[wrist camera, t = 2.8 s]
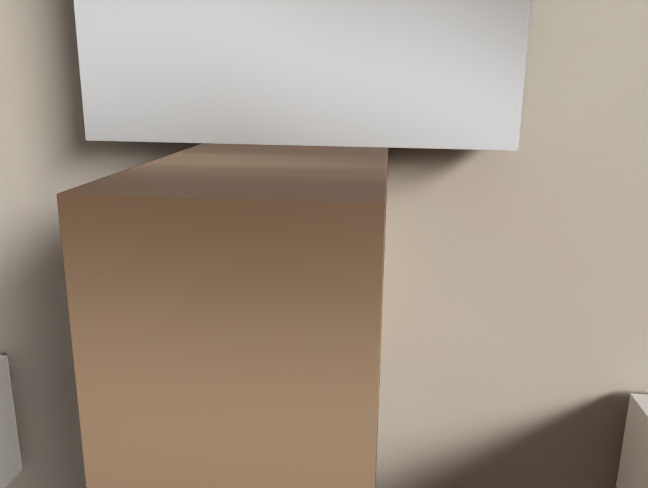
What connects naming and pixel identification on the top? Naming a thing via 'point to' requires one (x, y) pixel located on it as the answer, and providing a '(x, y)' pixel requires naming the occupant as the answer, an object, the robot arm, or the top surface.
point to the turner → (258, 223)
